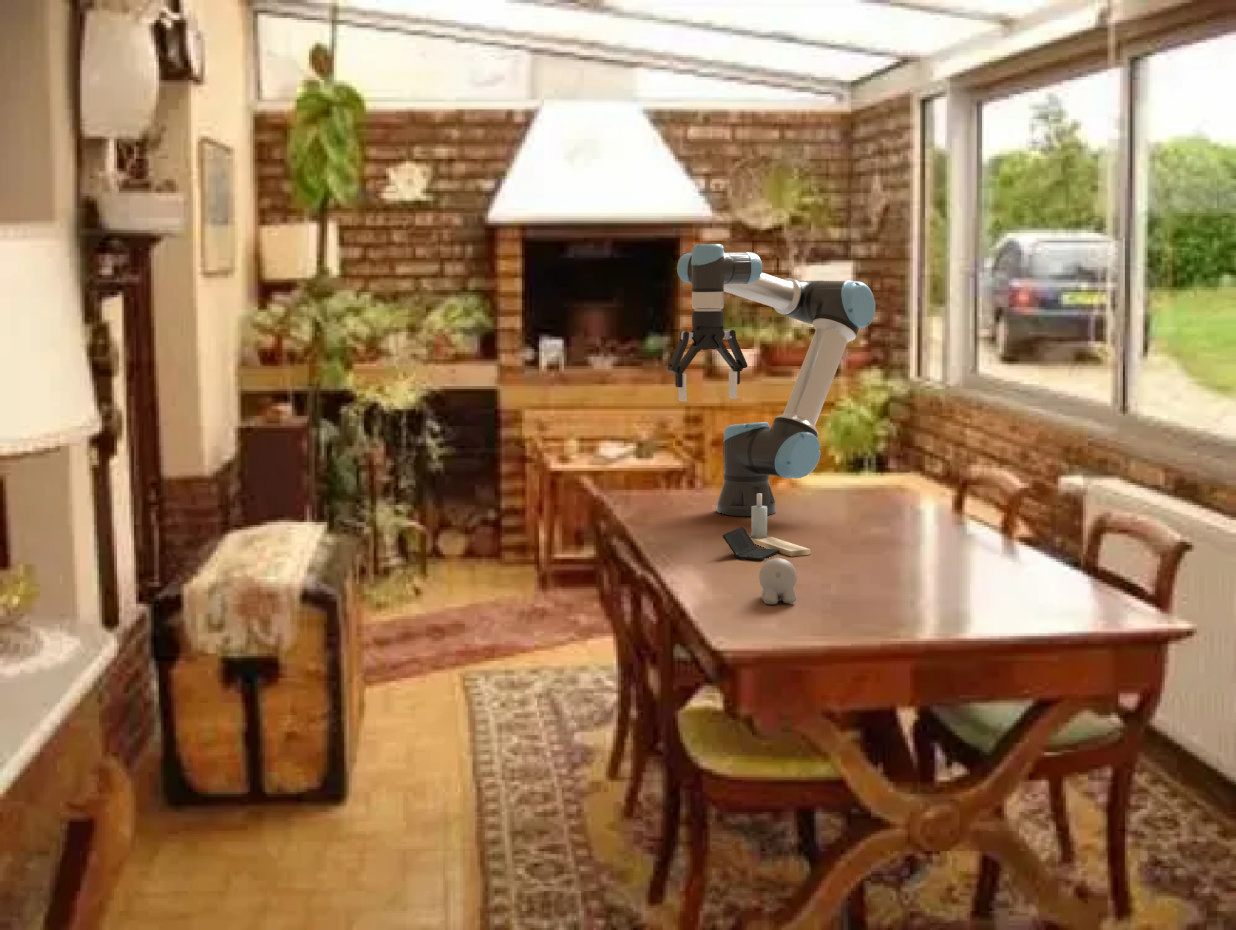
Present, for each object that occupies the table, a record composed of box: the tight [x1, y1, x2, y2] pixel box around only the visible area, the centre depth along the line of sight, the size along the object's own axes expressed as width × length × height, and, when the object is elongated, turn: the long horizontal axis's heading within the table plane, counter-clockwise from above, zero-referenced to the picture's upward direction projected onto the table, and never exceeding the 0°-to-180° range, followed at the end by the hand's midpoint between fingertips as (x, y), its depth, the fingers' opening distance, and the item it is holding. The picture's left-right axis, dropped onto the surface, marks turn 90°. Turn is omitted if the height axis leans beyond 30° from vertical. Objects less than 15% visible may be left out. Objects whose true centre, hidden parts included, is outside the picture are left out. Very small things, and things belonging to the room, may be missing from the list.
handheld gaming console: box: [722, 526, 780, 563], centre depth 340 cm, size 12×7×10 cm
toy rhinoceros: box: [758, 557, 798, 605], centre depth 296 cm, size 7×12×8 cm, turn 3°
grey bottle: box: [750, 493, 768, 538], centre depth 355 cm, size 4×4×10 cm
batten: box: [749, 535, 811, 558], centre depth 348 cm, size 5×20×1 cm, turn 25°
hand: (707, 400), depth 366 cm, fingers open, 13 cm apart
